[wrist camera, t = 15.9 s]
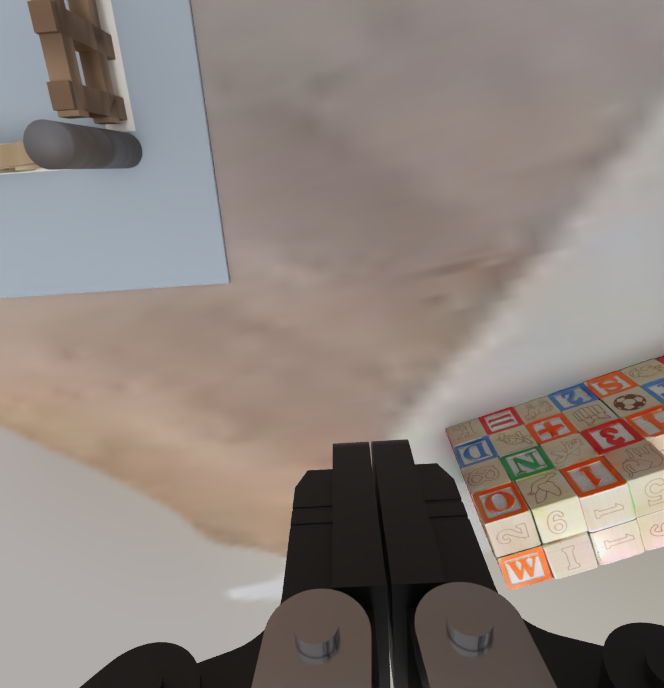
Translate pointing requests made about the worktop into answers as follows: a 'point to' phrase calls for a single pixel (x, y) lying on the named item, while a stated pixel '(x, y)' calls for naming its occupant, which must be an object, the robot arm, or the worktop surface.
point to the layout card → (113, 184)
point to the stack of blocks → (570, 475)
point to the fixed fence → (78, 92)
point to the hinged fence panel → (15, 158)
